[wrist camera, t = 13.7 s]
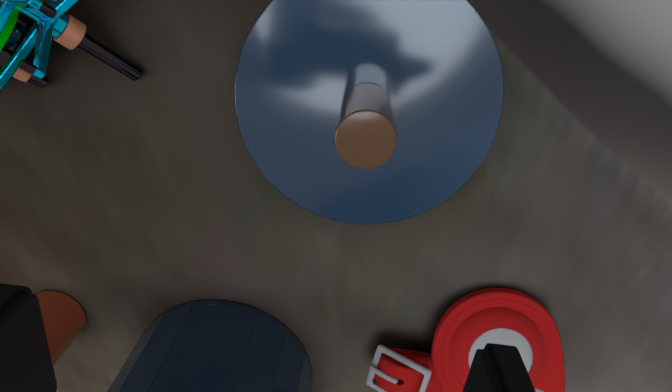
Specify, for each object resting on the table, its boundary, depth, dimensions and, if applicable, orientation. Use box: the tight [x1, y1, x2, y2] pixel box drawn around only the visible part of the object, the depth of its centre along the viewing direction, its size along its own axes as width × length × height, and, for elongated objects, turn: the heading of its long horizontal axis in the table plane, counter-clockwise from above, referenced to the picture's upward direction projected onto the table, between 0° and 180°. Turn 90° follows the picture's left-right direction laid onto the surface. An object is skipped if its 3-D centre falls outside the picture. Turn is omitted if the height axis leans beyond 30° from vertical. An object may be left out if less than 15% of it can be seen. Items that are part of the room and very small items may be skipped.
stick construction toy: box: [0, 0, 142, 89], centre depth 23 cm, size 12×7×8 cm
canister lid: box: [235, 0, 504, 224], centre depth 22 cm, size 14×14×6 cm
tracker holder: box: [366, 287, 565, 392], centre depth 30 cm, size 12×4×10 cm
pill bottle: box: [35, 291, 86, 366], centre depth 30 cm, size 4×4×7 cm
